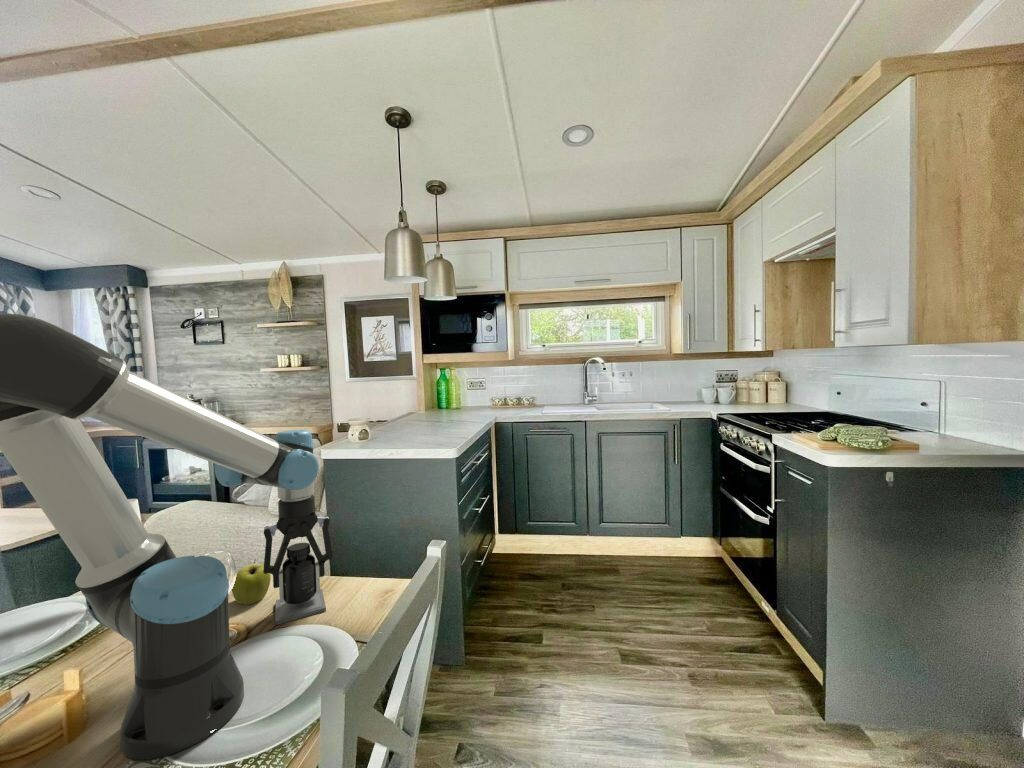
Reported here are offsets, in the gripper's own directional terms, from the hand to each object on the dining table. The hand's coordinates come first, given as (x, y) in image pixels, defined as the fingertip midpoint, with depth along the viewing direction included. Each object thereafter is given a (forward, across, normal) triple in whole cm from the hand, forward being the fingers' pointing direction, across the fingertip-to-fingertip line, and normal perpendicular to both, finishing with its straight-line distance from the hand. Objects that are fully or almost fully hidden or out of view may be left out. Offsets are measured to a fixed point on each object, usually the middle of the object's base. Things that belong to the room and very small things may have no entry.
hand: (300, 595), depth 96 cm
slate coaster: (+3, 0, 0) cm, 3 cm away
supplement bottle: (+1, 0, 0) cm, 1 cm away
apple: (+3, +10, -10) cm, 14 cm away
